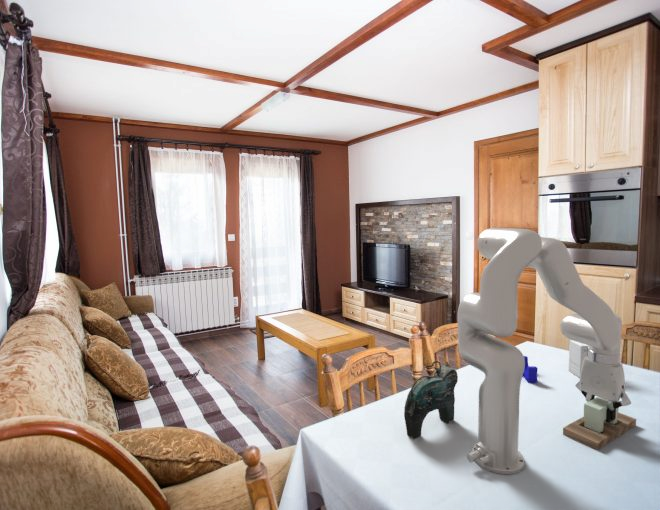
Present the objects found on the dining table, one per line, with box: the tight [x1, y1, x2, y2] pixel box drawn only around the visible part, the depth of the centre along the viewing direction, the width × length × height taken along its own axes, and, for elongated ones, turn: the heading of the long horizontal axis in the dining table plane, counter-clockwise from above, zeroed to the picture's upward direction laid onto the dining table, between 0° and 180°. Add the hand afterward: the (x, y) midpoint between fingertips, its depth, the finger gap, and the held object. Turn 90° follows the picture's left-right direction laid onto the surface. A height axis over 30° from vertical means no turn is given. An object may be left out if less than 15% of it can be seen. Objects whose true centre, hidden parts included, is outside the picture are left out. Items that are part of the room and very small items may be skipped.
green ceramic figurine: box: [403, 360, 459, 440], centre depth 115 cm, size 20×6×20 cm, turn 123°
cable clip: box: [522, 355, 538, 384], centre depth 149 cm, size 12×4×6 cm, turn 171°
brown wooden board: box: [562, 411, 637, 451], centre depth 112 cm, size 22×9×2 cm, turn 120°
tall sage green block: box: [583, 396, 620, 434], centre depth 112 cm, size 11×4×7 cm, turn 120°
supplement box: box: [568, 339, 588, 379], centre depth 149 cm, size 7×7×13 cm
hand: (600, 416), depth 112 cm, fingers closed on tall sage green block, 4 cm apart
